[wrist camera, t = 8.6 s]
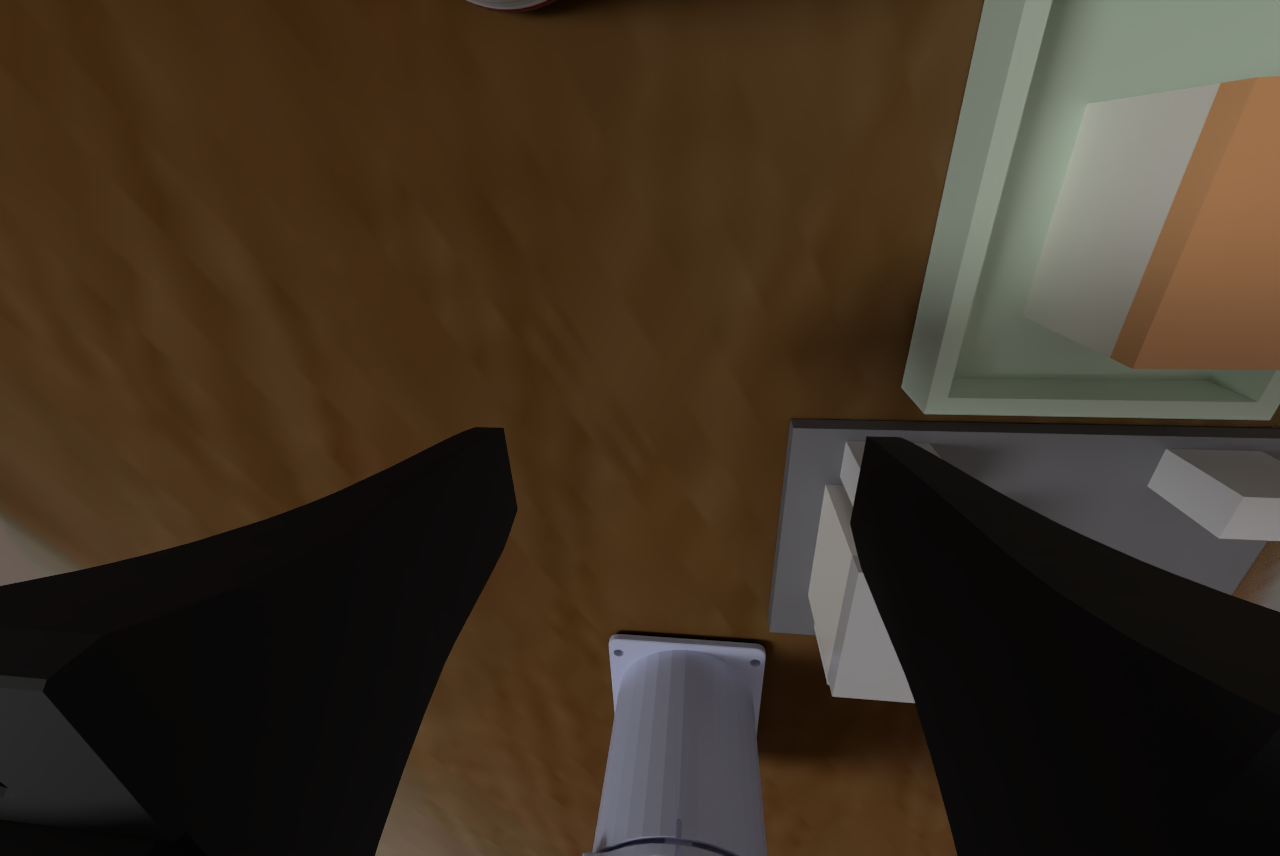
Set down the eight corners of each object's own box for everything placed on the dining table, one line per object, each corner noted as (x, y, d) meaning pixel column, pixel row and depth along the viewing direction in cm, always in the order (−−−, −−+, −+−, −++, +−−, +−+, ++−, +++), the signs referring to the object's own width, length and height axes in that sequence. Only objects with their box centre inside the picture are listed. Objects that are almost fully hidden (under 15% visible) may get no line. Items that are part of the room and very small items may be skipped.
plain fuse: (900, 600, 23) (947, 705, 18) (807, 595, 23) (832, 696, 19) (931, 487, 20) (994, 579, 16) (825, 484, 20) (858, 572, 16)
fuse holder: (1173, 644, 23) (1252, 726, 20) (768, 619, 25) (777, 688, 22) (1310, 429, 18) (1447, 489, 15) (790, 418, 20) (807, 469, 17)
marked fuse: (1155, 315, 17) (1318, 370, 12) (1021, 315, 17) (1132, 368, 13) (1248, 96, 14) (1502, 64, 9) (1087, 103, 14) (1257, 77, 10)
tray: (1206, 391, 18) (1270, 420, 16) (901, 387, 19) (924, 413, 17) (1443, -72, 12) (1587, -118, 10) (992, -38, 14) (1043, -73, 12)
